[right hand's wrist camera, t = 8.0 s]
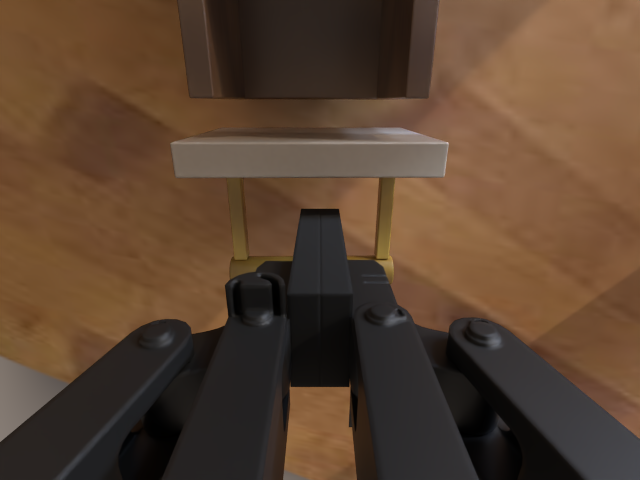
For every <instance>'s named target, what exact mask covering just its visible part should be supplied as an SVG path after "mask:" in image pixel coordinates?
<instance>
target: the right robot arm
mask: <svg viewBox="0 0 640 480" xmlns="http://www.w3.org/2000/svg"><path fill="white" fill-rule="evenodd" d="M225 290H226V299H227V308H228V316H229V317H228V320H227V322H226V324H225V326H223V327H220V328H218V329H214V330H210V331H206V332H201V333H196V334H191V328H190V326H189V325H188V324H187V323H186V322H183V321H180V320H177V319H164V320H157V321H153V322H151V323H148V324H146V325H143V326H141V327H139V328H138V329H136V330H135V331H133V332H131V333H130V334H129V335H128V336H127V337H125V338H124V339H123V340H122V341H121V342H119V343H118V344H117V345H116V346H115V347H113V348H112V349H111V350H110V351H109V352H107V353H106V354H105V355H104V356H103V357H102V358H100V359H99V360H98V361H97V362H96V363H94V364H93V365H92V366H91V367H90V368H88V369H87V370H86V371H85V372H84V373H82V374H81V375H80V376H79V377H78V378H76V379H75V380H74V381H73V382H72V383H70V384H69V385H68V386H67V387H66V388H65V389H63V390H62V391H61V392H60V393H58V394H57V395H56V396H55V397H54V398H52V399H51V400H50V401H49V402H48V403H47V404H45V405H44V406H43V407H42V408H41V409H39V410H38V411H37V412H36V413H35V414H33V415H32V416H31V417H30V418H29V419H27V420H26V421H25V422H24V423H23V424H21V425H20V426H19V427H18V428H17V429H15V430H14V431H13V432H12V433H11V434H9V435H8V436H7V437H6V438H5V439H3V440H2V441H1V442H0V480H283V474H284V463H285V452H286V442H287V431H288V421H289V410H290V391H289V387H290V383H291V387H349V383H350V385H351V391H350V414H349V427H352V431H353V441H354V452H355V462H356V473H357V480H640V439H639V438H638V437H637V436H635V435H634V434H633V433H632V432H631V431H629V430H628V429H627V428H626V427H624V426H623V425H622V424H621V423H620V422H618V421H617V420H616V419H615V418H614V417H612V416H611V415H610V414H609V413H608V412H606V411H605V410H604V409H603V408H602V407H600V406H599V405H598V404H597V403H596V402H594V401H593V400H592V399H591V398H589V397H588V396H587V395H586V394H585V393H583V392H582V391H581V390H580V389H579V388H577V387H576V386H575V385H574V384H573V383H571V382H570V381H569V380H568V379H567V378H565V377H564V376H563V375H562V374H561V373H559V372H558V371H557V370H556V369H554V368H553V367H552V366H551V365H550V364H548V363H547V362H546V361H545V360H544V359H542V358H541V357H540V356H539V355H538V354H536V353H535V352H534V351H533V350H532V349H530V348H529V347H528V346H527V345H526V344H524V343H523V342H522V341H521V340H520V339H518V338H517V337H516V336H515V335H513V334H512V333H511V332H510V331H508V330H507V329H505V328H504V327H502V326H501V325H499V324H496V323H494V322H491V321H489V320H486V319H482V318H481V319H480V318H461V319H458V320H455V321H454V322H453V323H452V324H451V325H450V328H449V333H447V332H442V331H437V330H432V329H428V328H424V327H421V326H419V325H416V324H414V322H413V319H412V317H411V315H410V314H409V313H408V311H407V310H405V309H404V308H402V307H401V306H399V305H397V302H396V299H395V297H394V294H393V291H392V289H391V286H390V284H389V281H388V278H387V277H386V273H385V270H384V267H383V266H382V265H380V264H379V263H378V262H377V261H375V260H347V255H346V249H345V243H344V237H343V231H342V225H341V219H340V213H339V209H301V213H300V219H299V225H298V231H297V237H296V243H295V249H294V255H293V261H265V262H264V263H263V264H261V265H260V266H259V267H257V269H256V271H255V272H248V273H245V274H241V275H238V276H236V277H234V278H232V279H230V280H229V281H228V282H227V283H226V285H225Z"/></svg>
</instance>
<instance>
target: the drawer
mask: <svg viewBox="0 0 640 480" xmlns="http://www.w3.org/2000/svg"><path fill="white" fill-rule="evenodd" d="M177 2H178V10H179V18H180V26H181V34H182V42H183V50H184V58H185V66H186V74H187V82H188V90H189V96H190V98H207V99H427V98H429V94H430V84H431V75H432V66H433V56H434V47H435V38H436V28H437V19H438V9H439V0H177ZM448 145H449V144H448V142H445V141H442V140H438V139H435V138H432V137H429V136H425V135H422V134H419V133H416V132H413V131H409V130H406V129H403V128H219V129H216V130H212V131H209V132H205V133H202V134H199V135H195V136H192V137H188V138H185V139H181V140H178V141H175V142H172V143H171V144H170V146H171V153H172V159H173V166H174V173H175V177H176V178H227V187H228V198H229V208H230V218H231V229H232V239H233V249H234V257H232V259H231V262H230V279H232V278H234V277H236V276H238V275H241V274H245V273H248V272H255V271H256V269H257V267H259V266H260V265H261V264H263V263H264V262H265V261H293V256H249V246H248V234H247V221H246V209H245V196H244V183H243V178H379V189H378V204H377V220H376V236H375V252H374V254H375V256H347V260H375V261H377V262H378V263H379V264H380V265H382V266H383V267H384V270H385V273H386V277H387V278H388V281H389V284H392V282H393V276H394V266H393V260H392V257H391V256H389V249H390V237H391V224H392V212H393V199H394V187H395V178H442V177H444V175H445V167H446V160H447V152H448Z"/></svg>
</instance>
